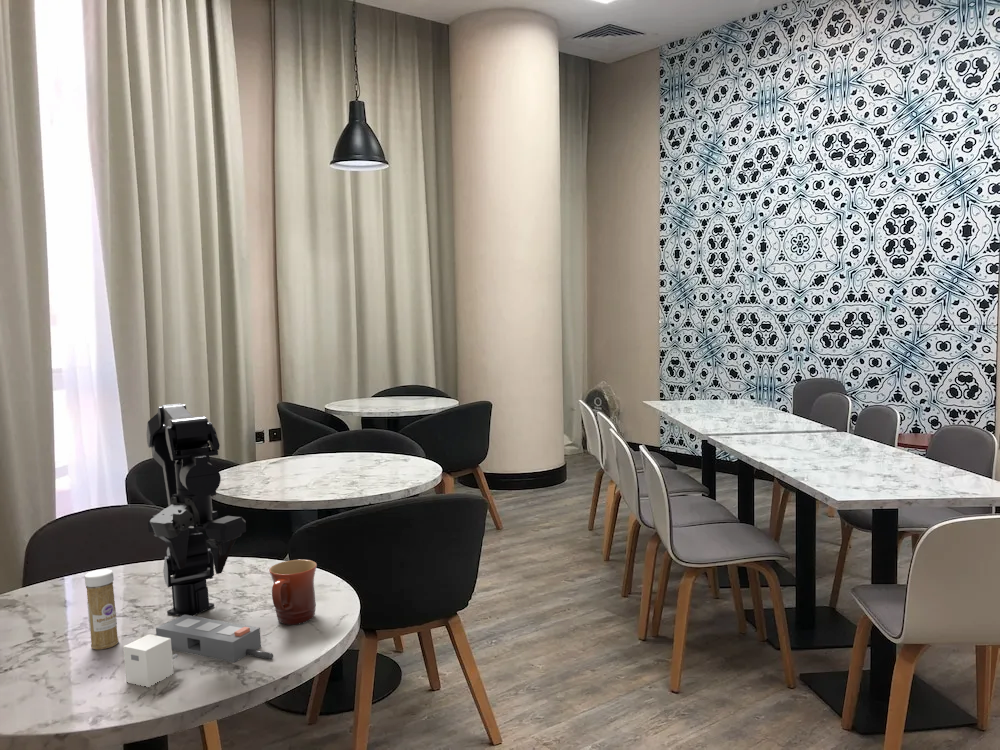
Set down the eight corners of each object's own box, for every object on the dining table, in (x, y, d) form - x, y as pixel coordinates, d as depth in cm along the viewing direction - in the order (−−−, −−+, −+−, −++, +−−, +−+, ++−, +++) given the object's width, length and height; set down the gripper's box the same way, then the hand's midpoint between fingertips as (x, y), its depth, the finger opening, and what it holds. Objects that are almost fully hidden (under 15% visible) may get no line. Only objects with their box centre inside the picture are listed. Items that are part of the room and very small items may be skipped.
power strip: (157, 646, 141) (155, 624, 141) (186, 632, 147) (184, 611, 147) (259, 667, 131) (257, 643, 131) (285, 651, 137) (284, 628, 137)
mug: (286, 609, 157) (282, 558, 156) (327, 611, 155) (324, 559, 154) (255, 634, 145) (251, 579, 144) (300, 636, 143) (296, 581, 142)
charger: (125, 682, 128) (122, 646, 127) (163, 663, 134) (160, 628, 134) (148, 687, 126) (145, 651, 125) (185, 667, 132) (182, 632, 132)
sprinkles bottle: (105, 651, 140) (98, 577, 139) (84, 649, 142) (78, 575, 141) (124, 641, 145) (118, 569, 143) (104, 638, 146) (98, 567, 145)
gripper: (119, 493, 140) (126, 579, 142) (197, 500, 132) (204, 591, 134) (170, 480, 151) (176, 560, 152) (245, 485, 142) (251, 570, 144)
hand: (200, 570), depth 145 cm, fingers open, 9 cm apart
